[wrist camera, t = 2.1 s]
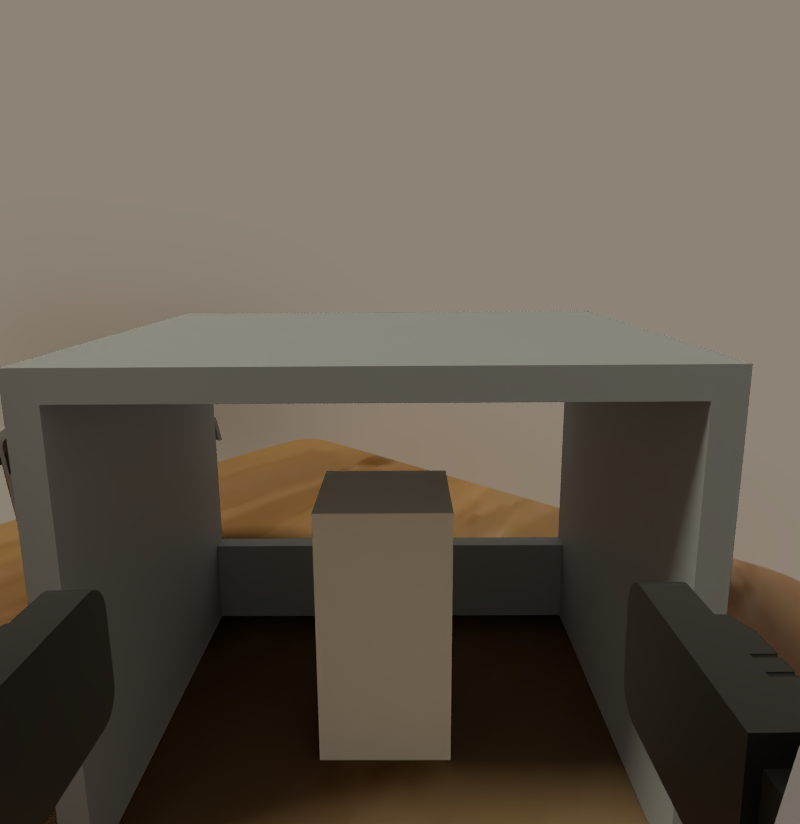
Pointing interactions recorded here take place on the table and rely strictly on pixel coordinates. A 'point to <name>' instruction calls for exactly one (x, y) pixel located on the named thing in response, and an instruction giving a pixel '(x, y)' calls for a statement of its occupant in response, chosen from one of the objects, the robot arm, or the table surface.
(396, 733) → the cream block
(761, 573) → the table surface
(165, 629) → the open box frame
